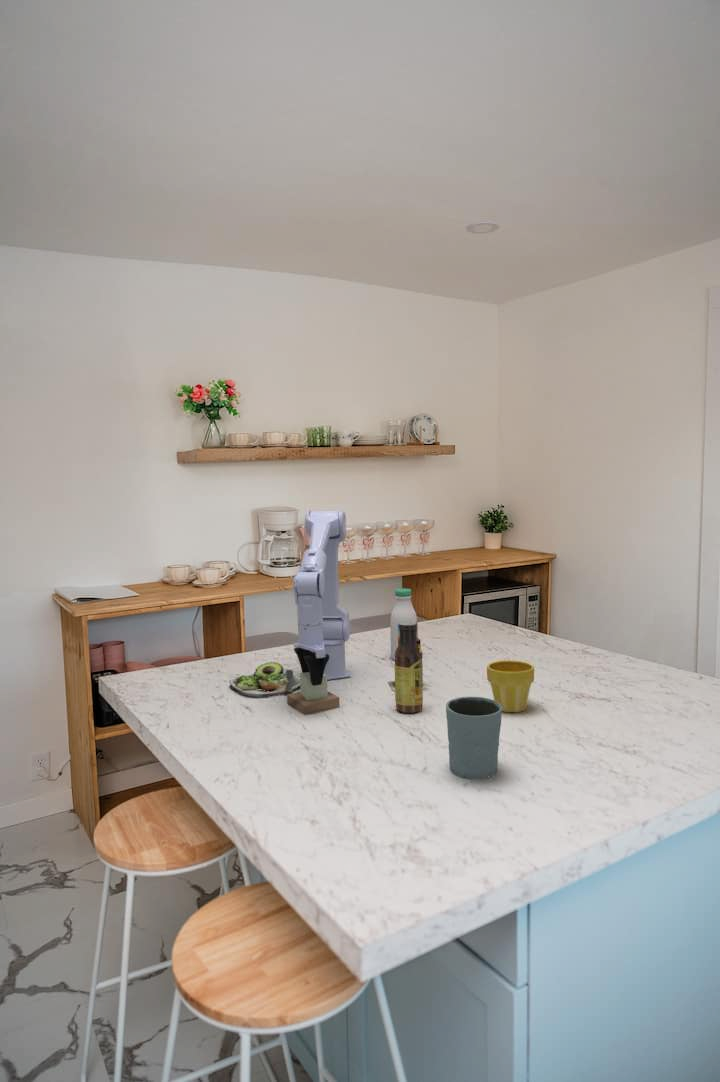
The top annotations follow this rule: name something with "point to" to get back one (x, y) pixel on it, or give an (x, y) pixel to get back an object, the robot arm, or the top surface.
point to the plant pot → (510, 683)
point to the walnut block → (312, 703)
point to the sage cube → (312, 687)
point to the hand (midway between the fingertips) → (312, 681)
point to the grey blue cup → (473, 736)
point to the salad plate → (266, 681)
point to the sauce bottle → (408, 671)
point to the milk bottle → (401, 616)
